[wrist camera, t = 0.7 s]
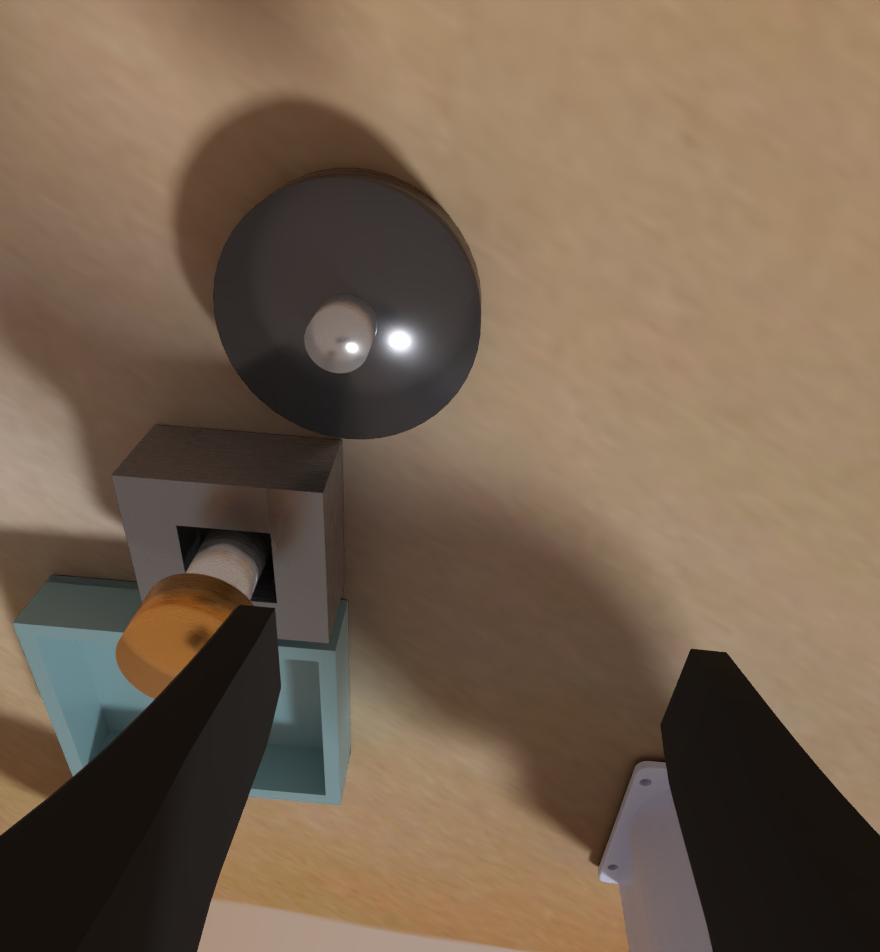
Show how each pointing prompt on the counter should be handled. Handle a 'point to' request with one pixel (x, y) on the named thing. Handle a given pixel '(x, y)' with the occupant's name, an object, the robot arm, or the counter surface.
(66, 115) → the counter surface
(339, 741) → the tray
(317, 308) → the dark disc and block
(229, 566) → the lock pin
